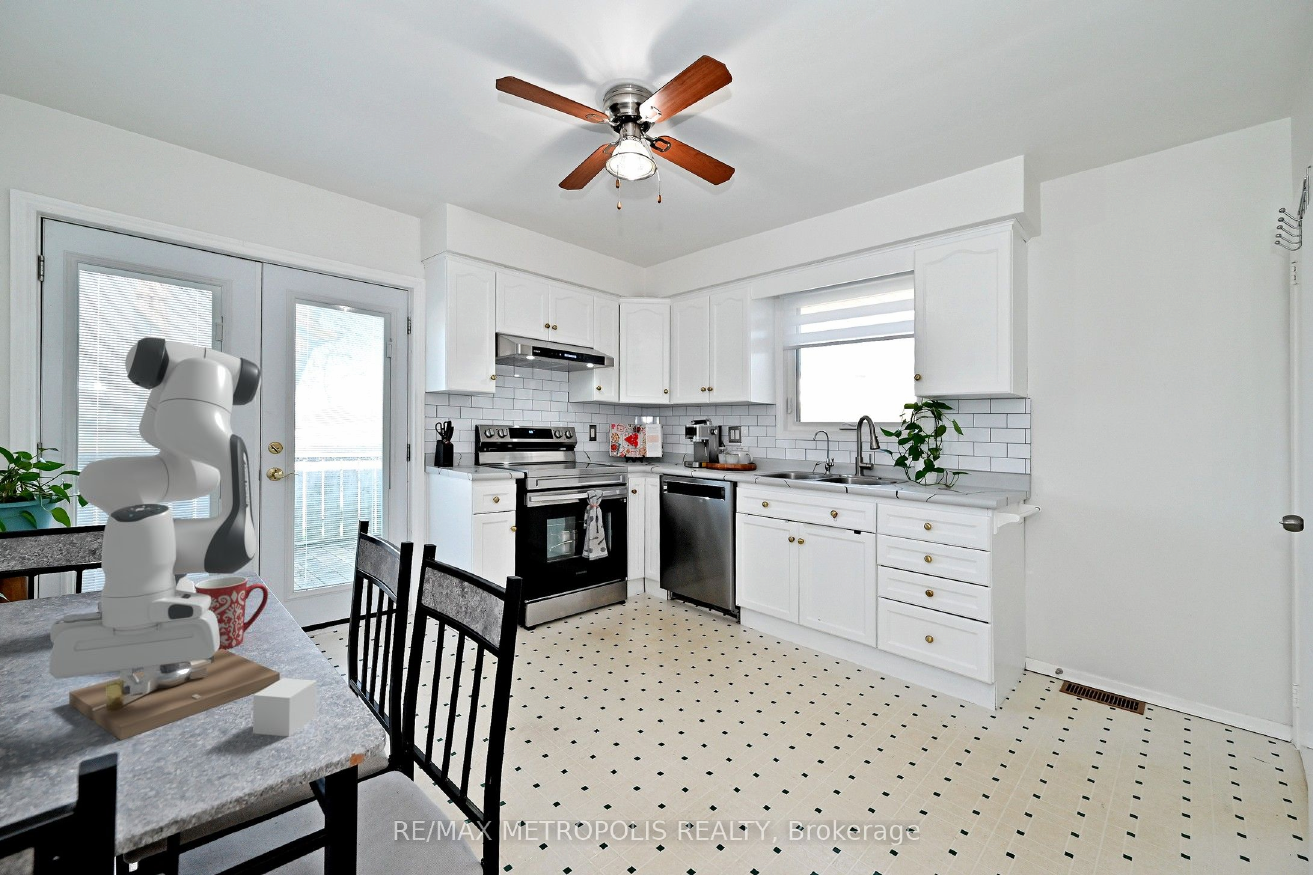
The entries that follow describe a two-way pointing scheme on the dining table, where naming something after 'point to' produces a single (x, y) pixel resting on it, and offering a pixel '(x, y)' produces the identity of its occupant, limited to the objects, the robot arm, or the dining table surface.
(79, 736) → the dining table surface
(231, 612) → the mug
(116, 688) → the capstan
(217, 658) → the stand
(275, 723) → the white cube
